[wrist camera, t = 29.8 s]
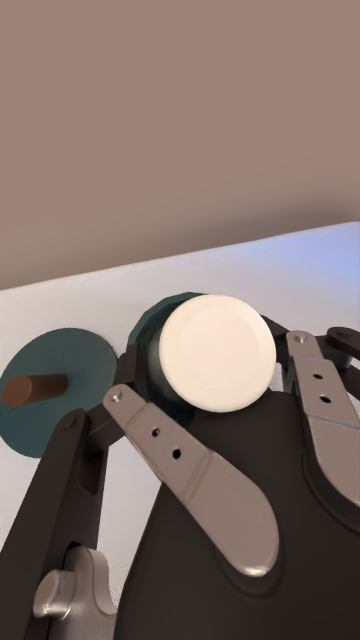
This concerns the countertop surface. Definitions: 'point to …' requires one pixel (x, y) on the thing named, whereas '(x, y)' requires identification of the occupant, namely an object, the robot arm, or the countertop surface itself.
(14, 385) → the pot lid
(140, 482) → the countertop surface
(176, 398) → the pot
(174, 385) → the sprinkles bottle
